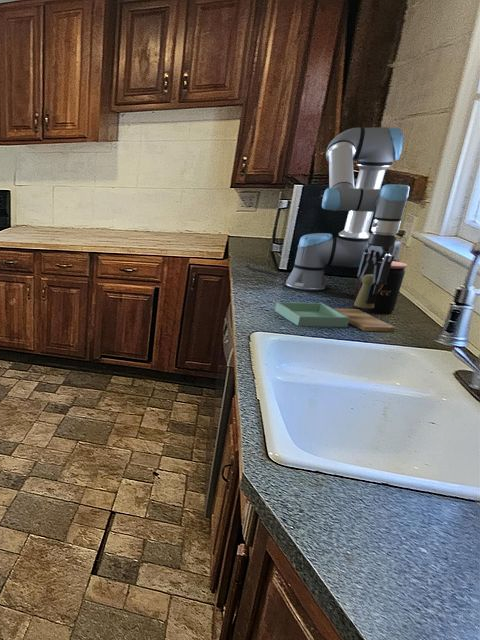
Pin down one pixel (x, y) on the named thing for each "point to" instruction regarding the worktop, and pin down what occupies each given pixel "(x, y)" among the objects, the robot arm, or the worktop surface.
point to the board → (365, 320)
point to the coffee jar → (389, 290)
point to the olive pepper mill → (364, 292)
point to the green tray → (311, 314)
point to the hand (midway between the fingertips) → (365, 301)
